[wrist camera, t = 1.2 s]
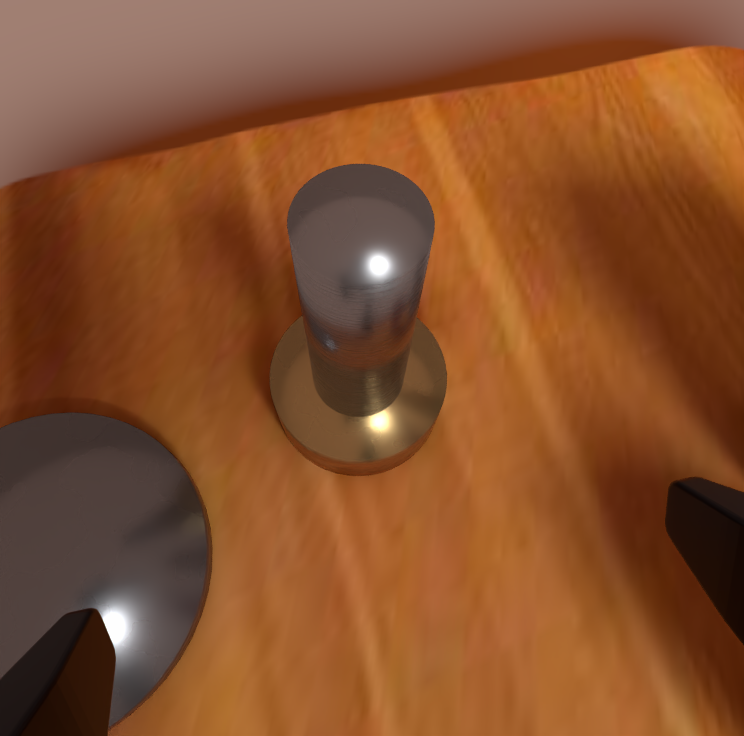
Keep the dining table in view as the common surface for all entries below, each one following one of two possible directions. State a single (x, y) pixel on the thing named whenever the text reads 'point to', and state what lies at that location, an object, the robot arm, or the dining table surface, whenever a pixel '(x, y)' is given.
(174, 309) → the dining table surface
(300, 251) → the grey and gold stamper
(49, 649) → the robot arm
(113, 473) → the plate
